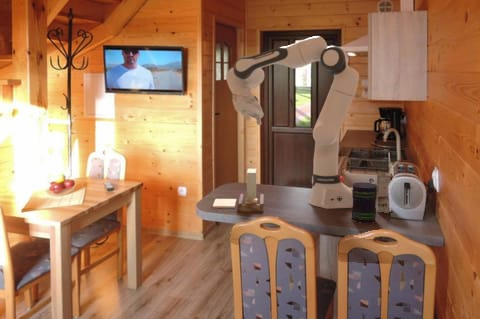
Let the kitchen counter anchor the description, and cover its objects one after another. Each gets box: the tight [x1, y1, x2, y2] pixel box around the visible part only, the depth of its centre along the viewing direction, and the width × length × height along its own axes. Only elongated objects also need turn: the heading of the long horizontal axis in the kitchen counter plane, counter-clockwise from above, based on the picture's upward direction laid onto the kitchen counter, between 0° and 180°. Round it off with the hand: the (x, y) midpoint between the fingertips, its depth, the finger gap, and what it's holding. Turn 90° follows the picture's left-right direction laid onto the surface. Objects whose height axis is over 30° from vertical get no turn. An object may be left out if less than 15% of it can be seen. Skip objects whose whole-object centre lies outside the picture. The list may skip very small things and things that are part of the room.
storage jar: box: [351, 182, 377, 224], centre depth 203 cm, size 10×10×15 cm
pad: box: [212, 198, 237, 209], centre depth 230 cm, size 10×13×1 cm
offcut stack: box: [243, 197, 258, 204], centre depth 220 cm, size 6×4×5 cm, turn 87°
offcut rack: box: [237, 193, 265, 213], centre depth 226 cm, size 11×18×4 cm, turn 177°
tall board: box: [246, 168, 257, 199], centre depth 228 cm, size 4×10×16 cm, turn 177°
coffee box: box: [375, 172, 394, 214], centre depth 218 cm, size 9×6×16 cm
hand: (254, 122), depth 228 cm, fingers open, 8 cm apart
